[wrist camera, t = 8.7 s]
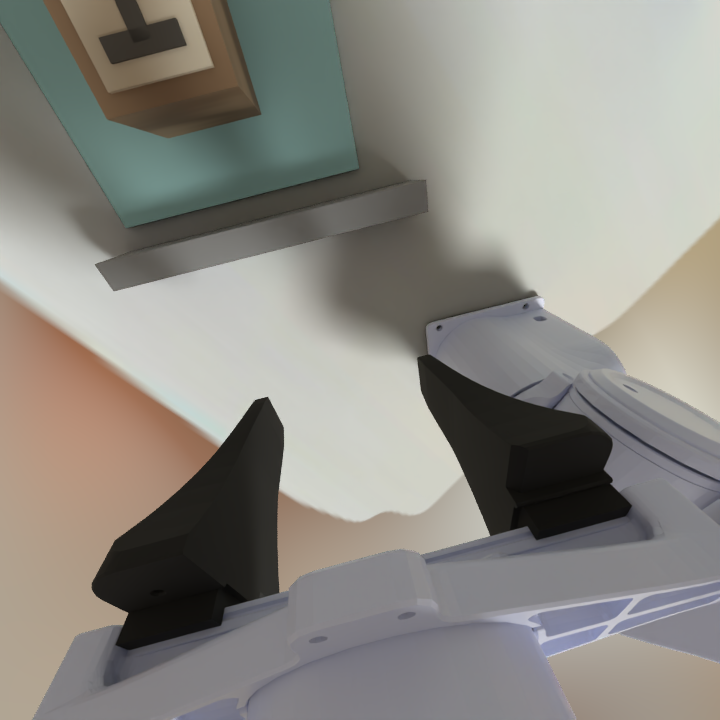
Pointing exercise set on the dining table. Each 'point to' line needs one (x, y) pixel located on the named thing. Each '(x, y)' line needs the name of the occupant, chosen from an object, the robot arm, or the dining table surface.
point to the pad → (216, 144)
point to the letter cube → (159, 62)
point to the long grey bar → (265, 235)
